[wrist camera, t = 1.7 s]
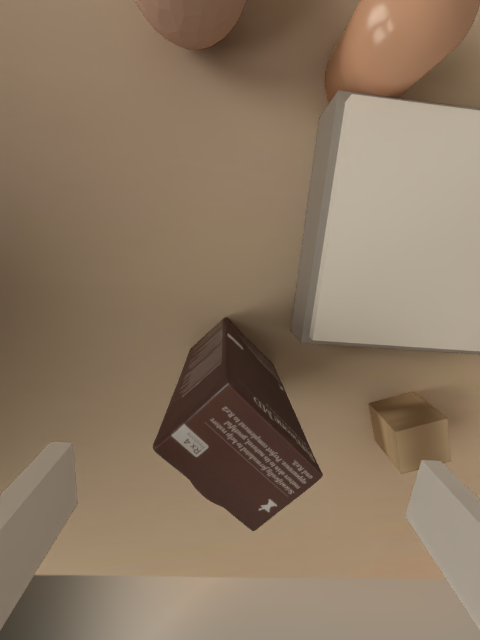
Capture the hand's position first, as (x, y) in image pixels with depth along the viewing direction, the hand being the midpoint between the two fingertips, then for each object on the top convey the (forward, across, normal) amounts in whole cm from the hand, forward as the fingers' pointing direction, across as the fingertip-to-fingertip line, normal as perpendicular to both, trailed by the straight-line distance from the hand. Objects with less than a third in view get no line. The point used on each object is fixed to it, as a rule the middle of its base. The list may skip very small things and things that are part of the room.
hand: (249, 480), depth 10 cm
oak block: (+13, +14, -5) cm, 20 cm away
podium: (+13, +11, +10) cm, 20 cm away
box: (+13, -1, 0) cm, 13 cm away
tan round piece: (+12, +6, +20) cm, 25 cm away
